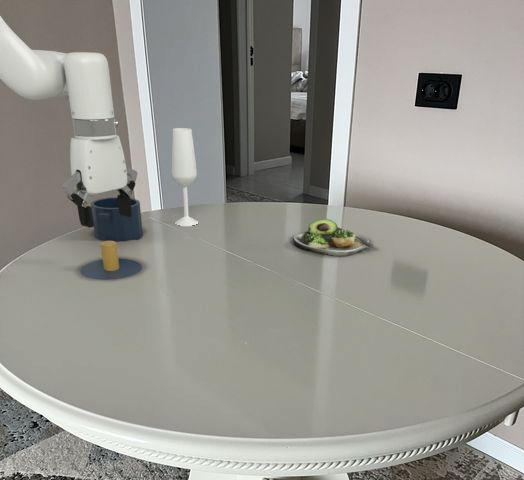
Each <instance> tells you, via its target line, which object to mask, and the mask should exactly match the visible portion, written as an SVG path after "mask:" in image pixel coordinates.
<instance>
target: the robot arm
mask: <svg viewBox="0 0 524 480" xmlns="http://www.w3.org/2000/svg"><path fill="white" fill-rule="evenodd" d="M108 61H109V60H107V57H106V56H105V55H104V54H103V53H100V52H90V51H74V52H68V53H66V52H59V51H55V50H43V49H32V48H30V47H29V46H28V45H27V44H26V43H25V42H24V41H23V39H21V38H20V37H19V36H18V35H17V34H16V33H15V32H14V31H13V29H11V27H10V26H9V25H8V23H6V22H5V19H3V17H2V16H1V15H0V80H1V81H2V82H3V83H4V84H5V86H7V87H8V88H9V89H11V90H12V91H13V92H14V93H16V94H17V95H19V96H21V97H22V98H24V99H27V100H31V101H40V100H45V99H55V98H61V97H66V96H68V101H69V109H70V114H71V115H70V116H71V121H72V122H71V123H72V127H73V134H74V137H70V145H69V146H70V147H69V148H70V149H69V158H70V173H71V176H70V177H68V178H67V179H66V180H65V181H64V182H63V183H62V184H61V189H62V190H63V193H65V194H66V196H67V199H69V201H71V202H72V203H73V204H74V206H77V212H78V220H79V222H80V226H82V227H87V228H89V229H91V228H94V223H93V216H92V209H91V205H89V204H90V203H91V200H92V198H93V196H96V195H101V194H106V193H109V192H113V191H116V192H117V193H118V194H117V196H116V197H117V199H118V208H119V214H120V215H123V216H127V217H131V216H132V210H131V201H130V198H131V197H132V196H133V194H134V193H133V191H134V189H135V187H136V181H137V177H138V171H136V170H135V169H132V168H130V167H129V166H127V164H126V159H125V154H124V153H125V152H124V149H123V146H122V142H121V139H120V135H118V134H117V128H118V127H119V126H120V125H119V121H118V119H116V118H115V109H114V102H113V93H112V84H111V76H110V75H111V74H110V66H109V62H108ZM76 192H77V193H76Z"/></svg>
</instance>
